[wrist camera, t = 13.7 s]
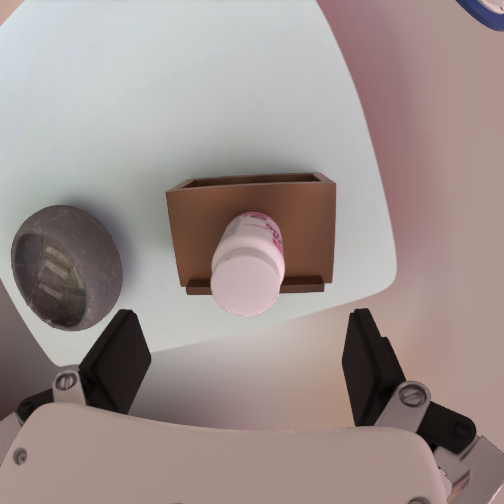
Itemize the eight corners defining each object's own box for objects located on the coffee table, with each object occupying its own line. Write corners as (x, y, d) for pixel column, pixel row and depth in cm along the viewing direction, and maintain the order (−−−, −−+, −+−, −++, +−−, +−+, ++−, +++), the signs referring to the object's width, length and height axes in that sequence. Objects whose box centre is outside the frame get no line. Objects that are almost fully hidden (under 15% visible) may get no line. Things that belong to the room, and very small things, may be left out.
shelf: (320, 172, 28) (340, 186, 20) (320, 253, 31) (335, 291, 24) (187, 179, 29) (158, 195, 21) (197, 257, 32) (176, 295, 25)
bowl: (126, 314, 37) (94, 361, 27) (48, 269, 35) (8, 302, 26) (152, 223, 31) (110, 258, 22) (60, 178, 29) (6, 197, 20)
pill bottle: (293, 233, 23) (304, 283, 16) (258, 273, 25) (252, 335, 17) (247, 198, 22) (235, 232, 15) (213, 242, 24) (188, 293, 16)
